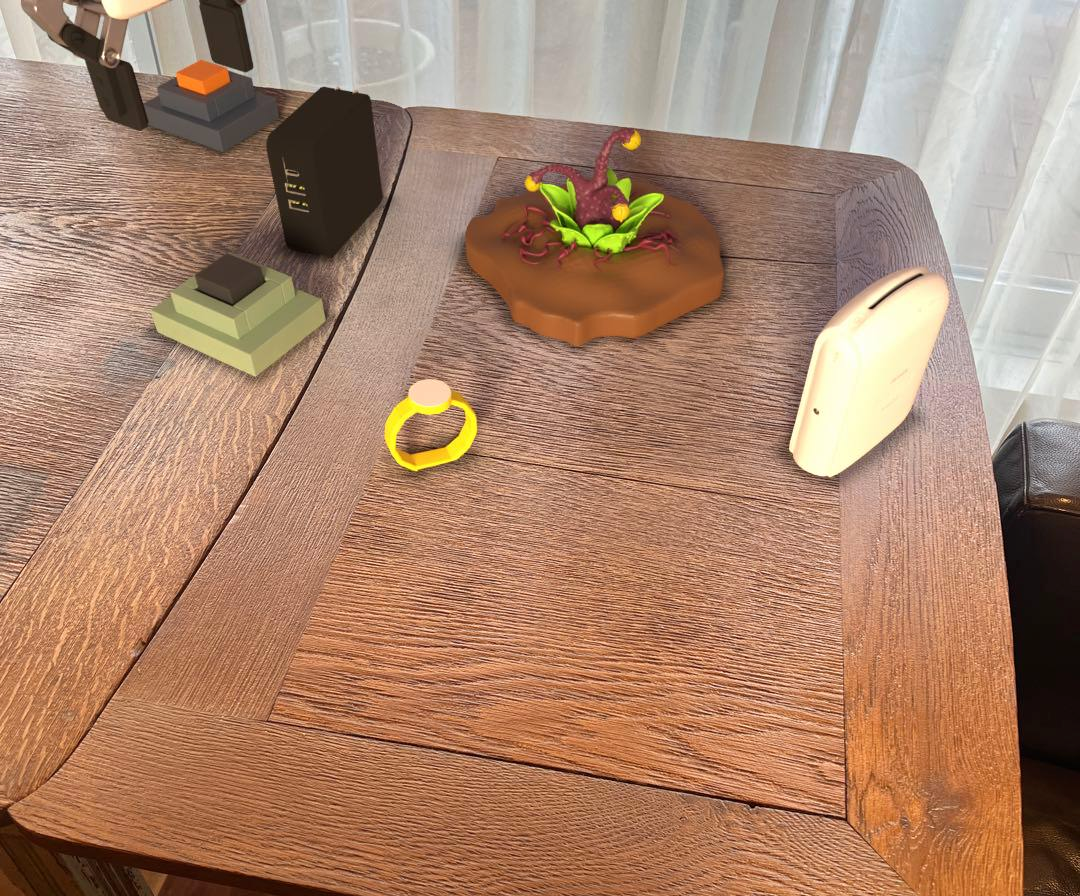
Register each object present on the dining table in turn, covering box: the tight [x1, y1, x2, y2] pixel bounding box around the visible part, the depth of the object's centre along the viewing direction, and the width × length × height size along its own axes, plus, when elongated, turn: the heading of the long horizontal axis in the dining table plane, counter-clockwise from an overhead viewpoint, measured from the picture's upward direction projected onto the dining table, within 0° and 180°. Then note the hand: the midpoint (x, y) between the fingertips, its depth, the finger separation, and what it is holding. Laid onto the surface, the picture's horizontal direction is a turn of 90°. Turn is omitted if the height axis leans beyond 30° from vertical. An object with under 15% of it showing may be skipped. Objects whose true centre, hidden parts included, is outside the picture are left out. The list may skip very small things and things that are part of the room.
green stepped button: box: [149, 251, 327, 378], centre depth 78 cm, size 10×8×4 cm
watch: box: [384, 378, 478, 472], centre depth 67 cm, size 6×3×6 cm, turn 113°
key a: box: [194, 252, 264, 306], centre depth 76 cm, size 3×3×2 cm
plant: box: [464, 127, 725, 347], centre depth 81 cm, size 20×20×11 cm
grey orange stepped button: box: [143, 70, 280, 153], centre depth 99 cm, size 10×8×4 cm
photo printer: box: [788, 265, 950, 478], centre depth 67 cm, size 10×4×12 cm, turn 133°
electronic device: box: [265, 86, 383, 258], centre depth 85 cm, size 4×10×10 cm, turn 160°
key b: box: [175, 59, 230, 96], centre depth 98 cm, size 3×3×2 cm
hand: (182, 93), depth 66 cm, fingers open, 8 cm apart
